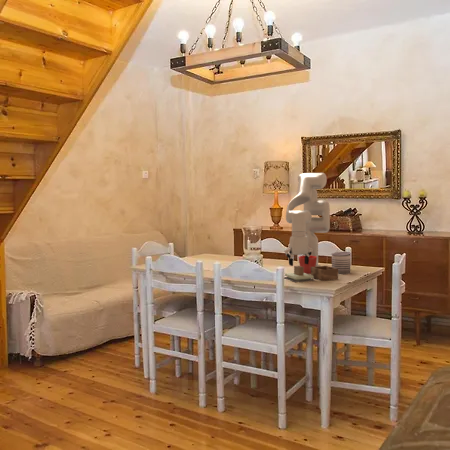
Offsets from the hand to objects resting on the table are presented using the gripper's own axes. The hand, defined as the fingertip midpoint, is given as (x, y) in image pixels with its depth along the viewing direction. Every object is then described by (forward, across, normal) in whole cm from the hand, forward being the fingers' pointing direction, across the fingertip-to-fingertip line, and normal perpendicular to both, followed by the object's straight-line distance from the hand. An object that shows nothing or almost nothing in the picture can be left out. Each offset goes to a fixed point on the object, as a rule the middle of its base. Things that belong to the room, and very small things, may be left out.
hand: (298, 264), depth 288 cm
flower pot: (+9, -14, -15) cm, 23 cm away
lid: (+7, 0, +1) cm, 7 cm away
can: (+9, -32, -7) cm, 34 cm away
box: (+8, -13, +5) cm, 16 cm away
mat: (+8, +1, +1) cm, 8 cm away
